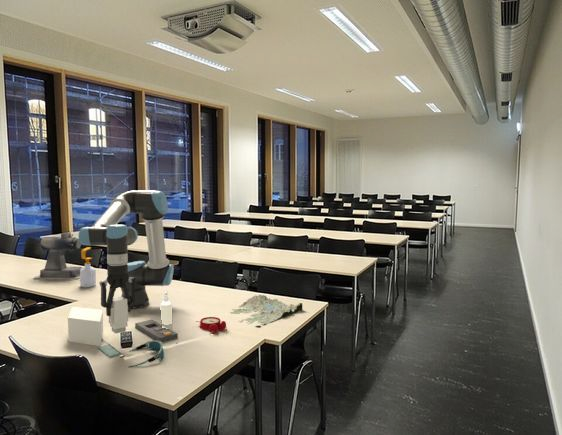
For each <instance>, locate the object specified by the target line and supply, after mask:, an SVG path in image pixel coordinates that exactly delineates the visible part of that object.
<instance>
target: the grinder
mask: <svg viewBox="0 0 562 435" xmlns="http://www.w3.org/2000/svg"><path fill="white" fill-rule="evenodd" d="M39 244H40V247H41V249H42V250H45V251H49V252H48V254H47V259H46V261H45V264H44V268H43V269H40V270H39V271H40V272H39V275H37V276H34V277H33V278H32V280H73V281H74V280H77V281H78V280H80V270H81V269H82V268H83V267H82V266H67V263H66V258H65V255H64V251H69V252H70V253H71V252H73V251H76V250H79V249H80V248H81V246H82V244H81V243H80V242H79V238H78V237H74V234H72V232H62V233H61V234H60V236H43V237H42V239H41V240H40V243H39Z"/></svg>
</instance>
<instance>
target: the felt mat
mask: <svg viewBox="0 0 562 435" xmlns="http://www.w3.org/2000/svg"><path fill="white" fill-rule="evenodd" d="M97 347H98V349H99V350H100V351H101V352H102V353H104V354H105V356H107V357H108V358H113V357H117V356H121V355H123V353H122V352H120V351H119V350H118V349H117V348H115V347H114V346H112V344H109V343H108V344H104V345H101V346H97Z"/></svg>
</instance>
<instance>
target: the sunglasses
mask: <svg viewBox="0 0 562 435" xmlns="http://www.w3.org/2000/svg"><path fill="white" fill-rule="evenodd" d="M163 344H164V342H161V341H156V340H150V341H149V340H148V341H147V342H146V343H143V344H140V345H139V346H136V347H134V348H132V349H130V350H128V351H127V353H130V352H134V351H137V350H142V349H144V348H147V349H149V348H150V351H153V352H157V354H156V355H154V356H152V357H151V358H148V359H146V360H144V361H142V362H139V363H137V364H133V365H129V366H128V368H135V367H136V368H137V367H139V366H141V365H145V364H147V363H148V362H149V363H151V362H154V361H157V360H158V361H161V362H162V360H163V359H164V356H165V352H164V347H163V346H164V345H163ZM124 357H125V355H124V354H122V356H120V359H122V358H124Z"/></svg>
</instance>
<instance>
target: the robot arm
mask: <svg viewBox="0 0 562 435" xmlns="http://www.w3.org/2000/svg"><path fill="white" fill-rule="evenodd" d="M168 205H169V204H168V199H167V196H166V193H164V192H163V191H161V190H154V189H153V190H135V189H134V190H129V191H128V190H127V191H125V192H123V193H121V194H119V195H118V196H116V197H114V198H113V200H111V202H110V203H109V207H107V209H106V210H105V211H104V212H103V213H102V214H101V215H100V216H99V217H98V219H96V221H95V222H94V223H93V224H92V225H91V226H84V227H83V226H82V227H81V228H80V229H79V231H78V239H79V242H80V243H81V246H89V247H92V246H106V250H107V251H106V253H107V254H106V260H107V261H106V263H107V267H106V268H107V272H106V273H107V277H106V279H105V280H103V281H102V280H101V281H99V286H100V306H101V307H103V308H106V309H105V313H106V316H107V317H108V324H109V325H110V324H111V325H112V324H113V308H112V307H111V305H112V301H113V298H115V293H116V290H117V289H118V288H120V290H121V296H120V297H124V298H126V299H127V322H129V313H130V312H131V309H137V308H138V309H139V308H144V307H147V306H148V305H149V304H150V298H149V296H148V292H147V290H146V287H151V286H152V287H154V286H156V287H158V286H159V287H166V286H170V285H171V283H172V281H173V275H174V272H175V271H174V270H175V268H174V264H172V263H171V264H170V260H169V258H167V255H166V244H165V235H164V234H165V233H164V224H163V219H164V218H165V217H166V216H165V215H166V214H167V213H168V211H169V210H168V207H169V206H168ZM130 214H133V215H135V214H137V215H140V218H141V220H143V221H144V226H145V233H146V243H147V250H148V257H149V259H148V261H147V262H146V261H145V260H137V261H132V262H129V261H128V260H129V259H128V258H129V256H128V255H129V254H128V253H129V252H128V251H129V250H128V248H129V247H128V246H131V245H133V244H134V243H136V241H137V240H138V236H139V233H138V231H137V230H136V229H135V228H134V227H132V226H127V225H126V224H118V223H119V222H120V221H121V220H122V219H123V217H126V216H128V215H130ZM108 285H109V290H108V294H107V286H108Z"/></svg>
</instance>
